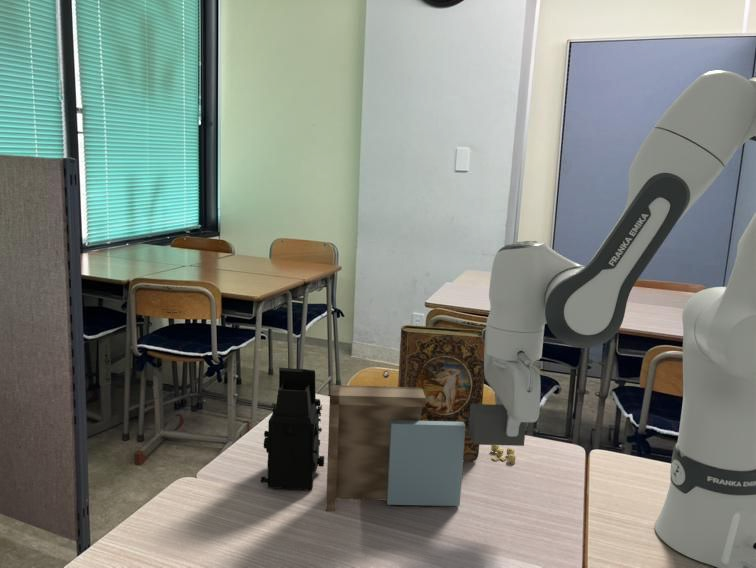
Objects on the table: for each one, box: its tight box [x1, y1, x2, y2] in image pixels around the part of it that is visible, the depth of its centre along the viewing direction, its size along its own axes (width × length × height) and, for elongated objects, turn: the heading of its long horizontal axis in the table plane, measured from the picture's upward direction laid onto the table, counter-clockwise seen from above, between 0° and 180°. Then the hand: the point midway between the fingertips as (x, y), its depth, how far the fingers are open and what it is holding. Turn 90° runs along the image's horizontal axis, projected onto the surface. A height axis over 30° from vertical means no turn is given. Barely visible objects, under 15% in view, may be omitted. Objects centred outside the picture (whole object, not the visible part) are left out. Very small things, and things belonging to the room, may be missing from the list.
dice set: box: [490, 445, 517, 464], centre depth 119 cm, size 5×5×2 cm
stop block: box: [468, 403, 527, 447], centre depth 96 cm, size 8×4×5 cm, turn 93°
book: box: [397, 324, 485, 462], centre depth 118 cm, size 16×6×25 cm, turn 84°
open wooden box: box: [325, 384, 426, 512], centre depth 98 cm, size 15×5×20 cm, turn 93°
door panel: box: [386, 420, 465, 507], centre depth 99 cm, size 12×2×14 cm, turn 93°
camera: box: [260, 367, 325, 492], centre depth 107 cm, size 10×14×20 cm
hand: (506, 427), depth 97 cm, fingers closed on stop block, 4 cm apart
